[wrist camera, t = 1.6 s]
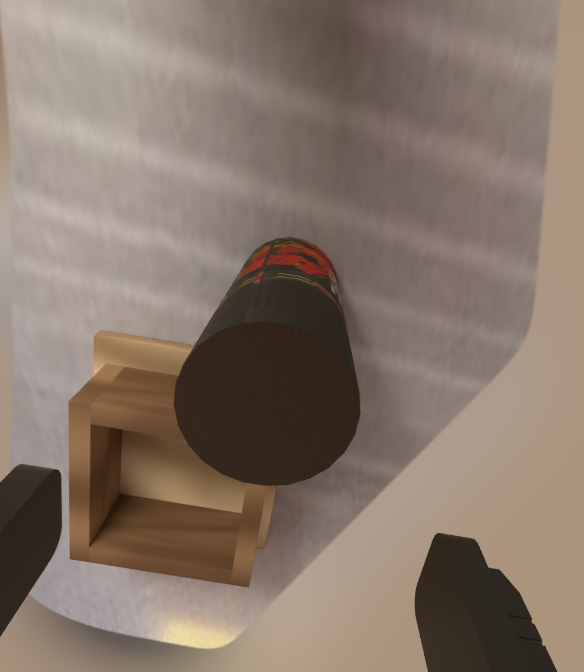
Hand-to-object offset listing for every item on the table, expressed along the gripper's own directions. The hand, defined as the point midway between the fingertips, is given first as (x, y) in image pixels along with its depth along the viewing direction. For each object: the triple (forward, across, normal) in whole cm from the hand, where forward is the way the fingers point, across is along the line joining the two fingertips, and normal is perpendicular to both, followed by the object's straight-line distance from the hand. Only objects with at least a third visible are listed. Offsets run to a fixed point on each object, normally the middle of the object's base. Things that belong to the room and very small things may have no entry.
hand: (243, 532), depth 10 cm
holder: (+20, +5, +12) cm, 24 cm away
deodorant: (+20, 0, 0) cm, 20 cm away
